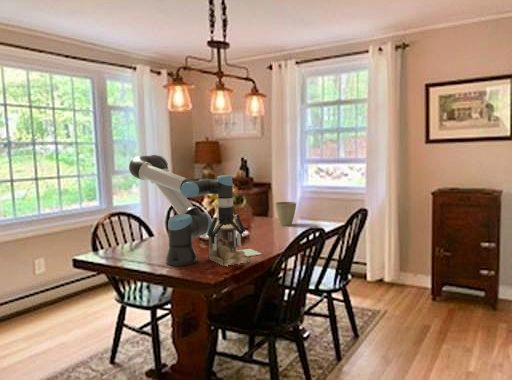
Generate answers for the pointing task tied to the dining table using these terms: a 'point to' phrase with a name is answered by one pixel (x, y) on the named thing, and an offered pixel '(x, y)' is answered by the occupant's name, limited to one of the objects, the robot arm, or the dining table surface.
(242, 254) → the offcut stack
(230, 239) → the coffee box
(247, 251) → the felt mat
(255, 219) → the dining table surface
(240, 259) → the rack
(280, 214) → the plant pot
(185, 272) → the dining table surface
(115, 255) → the dining table surface
